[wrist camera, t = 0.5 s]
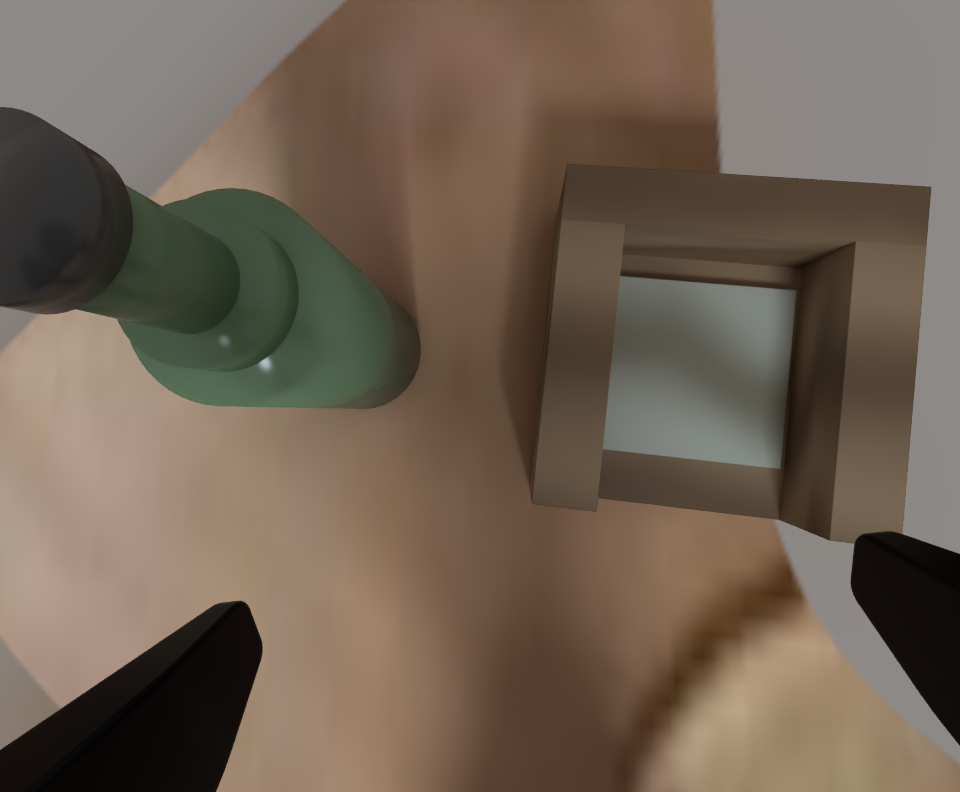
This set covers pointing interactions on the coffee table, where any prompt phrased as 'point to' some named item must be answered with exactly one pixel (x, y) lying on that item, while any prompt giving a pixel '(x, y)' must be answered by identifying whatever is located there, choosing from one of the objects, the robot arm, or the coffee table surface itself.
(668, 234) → the square wooden tray
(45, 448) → the coffee table surface
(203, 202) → the bottle
